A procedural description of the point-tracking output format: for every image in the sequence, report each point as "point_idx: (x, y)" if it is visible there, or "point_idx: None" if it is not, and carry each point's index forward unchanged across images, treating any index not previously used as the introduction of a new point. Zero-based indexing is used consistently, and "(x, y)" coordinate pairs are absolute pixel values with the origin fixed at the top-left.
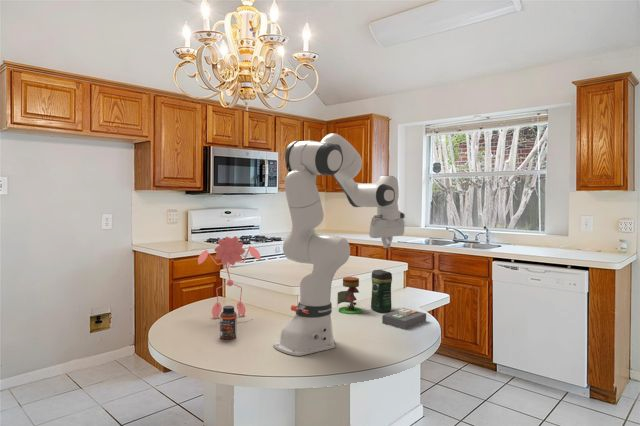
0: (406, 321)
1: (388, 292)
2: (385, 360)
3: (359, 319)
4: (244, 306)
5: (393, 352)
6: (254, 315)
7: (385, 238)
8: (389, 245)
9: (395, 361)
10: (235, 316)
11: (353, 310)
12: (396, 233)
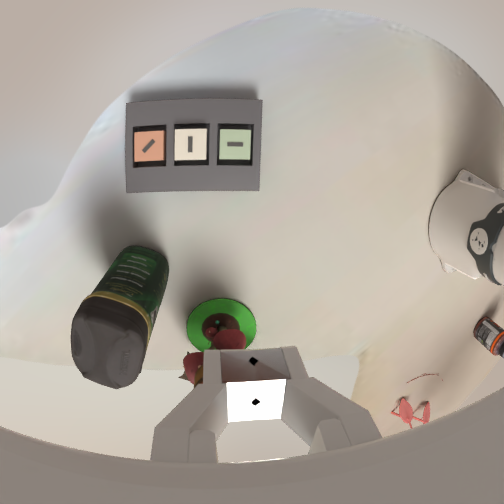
0: (252, 99)
1: (122, 276)
2: (447, 62)
3: (272, 258)
4: (400, 414)
5: (413, 60)
6: (387, 398)
7: (375, 428)
8: (232, 361)
9: (438, 45)
10: (501, 334)
11: (227, 317)
12: (48, 482)
